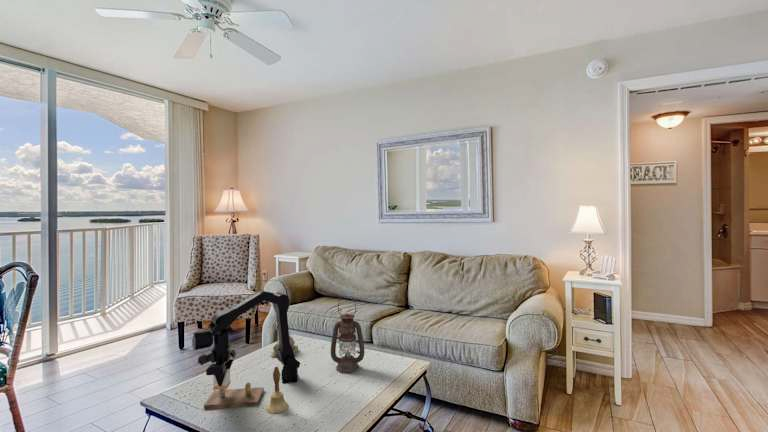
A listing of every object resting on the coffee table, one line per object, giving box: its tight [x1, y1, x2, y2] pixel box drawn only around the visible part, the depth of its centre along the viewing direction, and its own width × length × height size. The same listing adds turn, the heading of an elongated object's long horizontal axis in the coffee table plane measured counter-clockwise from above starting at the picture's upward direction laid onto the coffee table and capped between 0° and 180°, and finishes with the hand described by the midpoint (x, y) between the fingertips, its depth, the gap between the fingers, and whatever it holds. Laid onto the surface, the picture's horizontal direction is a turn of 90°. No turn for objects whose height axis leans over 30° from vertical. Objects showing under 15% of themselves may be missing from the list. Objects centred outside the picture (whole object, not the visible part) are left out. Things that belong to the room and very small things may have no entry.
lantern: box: [330, 295, 365, 374], centre depth 177 cm, size 11×16×35 cm
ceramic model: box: [270, 335, 299, 358], centre depth 198 cm, size 14×11×10 cm
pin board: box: [203, 382, 265, 410], centre depth 149 cm, size 20×12×6 cm, turn 97°
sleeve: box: [212, 368, 231, 391], centre depth 148 cm, size 5×5×6 cm
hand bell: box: [265, 366, 289, 415], centre depth 142 cm, size 8×8×16 cm
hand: (222, 382), depth 148 cm, fingers closed on sleeve, 5 cm apart
